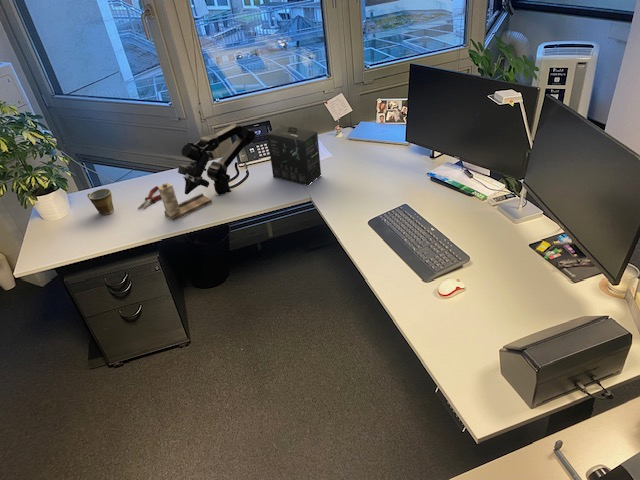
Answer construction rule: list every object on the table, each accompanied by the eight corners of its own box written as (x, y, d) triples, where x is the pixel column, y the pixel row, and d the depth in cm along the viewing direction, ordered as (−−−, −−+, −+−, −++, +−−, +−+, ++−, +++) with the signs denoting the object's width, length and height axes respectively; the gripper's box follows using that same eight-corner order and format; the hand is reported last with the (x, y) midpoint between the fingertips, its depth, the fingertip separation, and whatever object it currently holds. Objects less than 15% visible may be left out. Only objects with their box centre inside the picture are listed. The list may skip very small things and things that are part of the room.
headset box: (322, 175, 233) (317, 127, 218) (309, 186, 225) (303, 136, 210) (286, 168, 244) (279, 121, 229) (272, 178, 236) (264, 130, 221)
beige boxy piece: (174, 207, 217) (165, 179, 208) (182, 213, 212) (173, 185, 203) (164, 212, 214) (155, 184, 206) (173, 218, 209) (163, 189, 201)
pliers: (131, 209, 224) (129, 205, 222) (157, 189, 239) (155, 185, 237) (150, 212, 220) (148, 207, 218) (175, 191, 235) (173, 187, 233)
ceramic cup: (122, 207, 226) (115, 189, 220) (108, 218, 218) (100, 200, 212) (101, 204, 230) (93, 187, 224) (87, 215, 222) (78, 197, 216)
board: (202, 197, 226) (201, 192, 225) (211, 202, 221) (210, 197, 220) (165, 215, 216) (163, 210, 214) (173, 220, 211) (172, 216, 209)
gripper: (175, 151, 213) (161, 182, 214) (196, 162, 201) (181, 195, 202) (194, 160, 221) (181, 190, 222) (216, 171, 210) (201, 202, 211)
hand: (185, 194), depth 214 cm, fingers closed
